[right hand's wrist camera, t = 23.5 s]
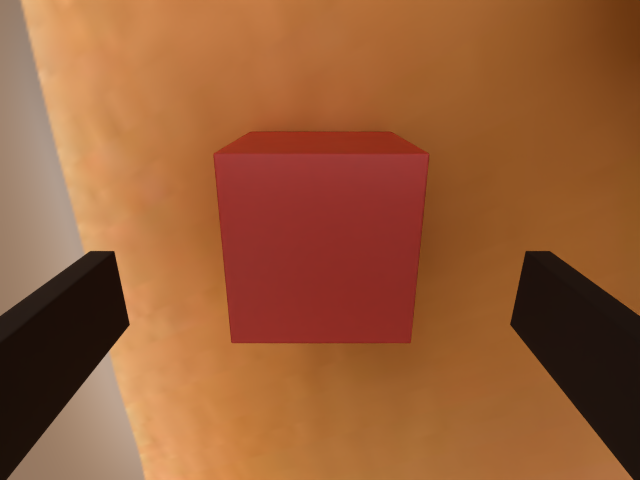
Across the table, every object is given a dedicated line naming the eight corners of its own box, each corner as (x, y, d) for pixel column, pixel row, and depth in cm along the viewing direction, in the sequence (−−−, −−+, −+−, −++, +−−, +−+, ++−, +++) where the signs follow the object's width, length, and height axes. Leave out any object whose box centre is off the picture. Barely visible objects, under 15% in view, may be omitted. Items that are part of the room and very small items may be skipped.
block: (391, 131, 22) (430, 153, 14) (383, 267, 25) (411, 343, 17) (249, 131, 22) (212, 153, 14) (257, 267, 25) (230, 343, 17)
